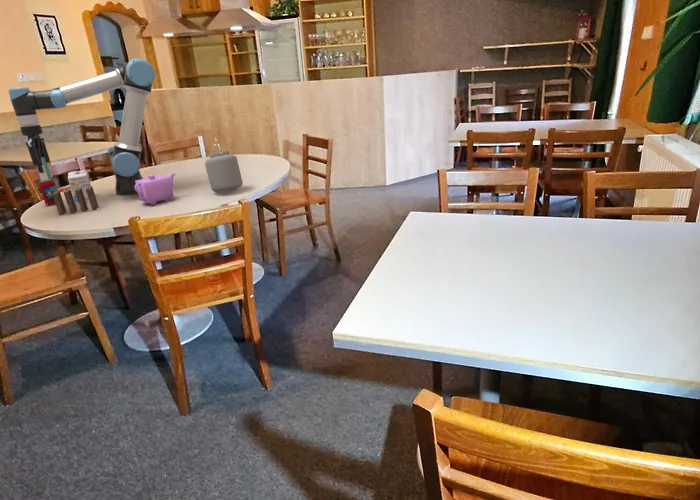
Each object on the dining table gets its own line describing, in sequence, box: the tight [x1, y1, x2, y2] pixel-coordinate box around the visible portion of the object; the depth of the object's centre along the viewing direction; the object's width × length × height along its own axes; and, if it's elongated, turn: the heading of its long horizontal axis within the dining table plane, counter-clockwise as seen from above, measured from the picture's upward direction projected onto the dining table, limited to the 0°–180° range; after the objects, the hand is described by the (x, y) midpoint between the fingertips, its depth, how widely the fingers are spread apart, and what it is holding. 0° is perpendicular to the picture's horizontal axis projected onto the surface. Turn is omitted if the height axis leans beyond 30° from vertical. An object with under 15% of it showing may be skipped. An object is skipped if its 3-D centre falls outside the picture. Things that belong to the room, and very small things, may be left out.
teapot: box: [135, 172, 177, 206], centre depth 208 cm, size 20×10×12 cm, turn 134°
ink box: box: [67, 170, 92, 202], centre depth 227 cm, size 9×8×13 cm
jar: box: [204, 137, 244, 193], centre depth 212 cm, size 19×15×25 cm
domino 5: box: [86, 185, 100, 211], centre depth 205 cm, size 2×5×10 cm, turn 16°
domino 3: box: [63, 188, 78, 215], centre depth 203 cm, size 2×5×10 cm, turn 16°
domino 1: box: [41, 157, 52, 181], centre depth 202 cm, size 2×5×10 cm, turn 14°
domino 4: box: [75, 188, 89, 213], centre depth 204 cm, size 2×5×10 cm, turn 16°
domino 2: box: [52, 190, 67, 216], centre depth 202 cm, size 2×5×10 cm, turn 16°
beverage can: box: [38, 178, 58, 206], centre depth 220 cm, size 7×7×12 cm
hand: (47, 178), depth 203 cm, fingers closed on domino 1, 5 cm apart
